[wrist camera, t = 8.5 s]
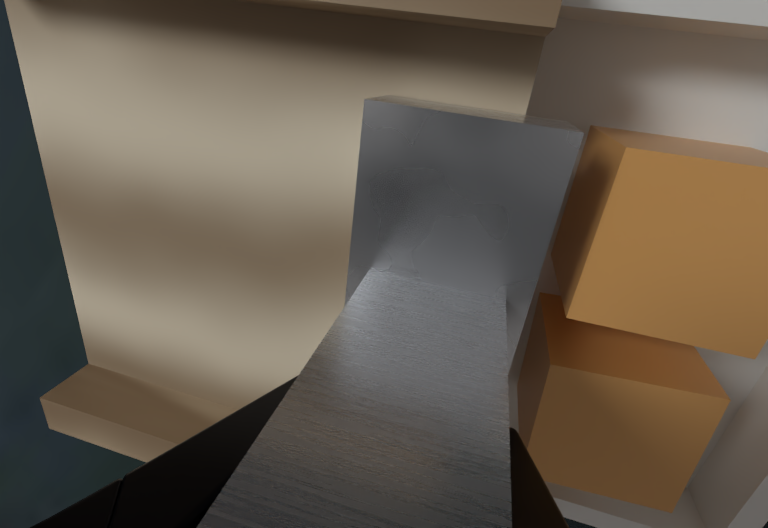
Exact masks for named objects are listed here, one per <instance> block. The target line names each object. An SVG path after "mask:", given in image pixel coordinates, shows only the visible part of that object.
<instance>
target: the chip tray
mask: <svg viewBox="0 0 768 528" xmlns="http://www.w3.org/2000/svg"><path fill="white" fill-rule="evenodd" d="M526 115H527V116H534V117H541V118H547V119H554V120H561V121H567V122H569V123H571V124H572V125H574V126H575V127H577V128H578V129H580V130H581V131H583V132H584V136H583V139H582V142H581V145H580V149H579V152H578V155H577V158H576V161H575V164H574V167H573V171H572V174H571V177H570V180H569V183H568V186H567V190H566V193H565V196H564V199H563V202H562V205H561V209H560V212H559V215H558V218H557V221H556V224H555V228H554V231H553V234H552V237H551V240H550V243H549V247H548V250H547V253H546V256H545V259H544V262H543V266H542V269H541V272H540V275H539V278H538V281H537V285H536V288H535V291H534V294H533V297H532V300H531V304H530V307H529V310H528V313H527V316H526V319H525V322H524V326H523V329H522V332H521V335H520V338H519V341H518V345H517V348H516V351H515V354H514V357H513V360H512V364H511V367H510V370H509V373H508V396H509V427H511V428H514V429H515V430H516V431H517V432H518V433H519V427H518V397H517V384H518V380H519V376H520V372H521V368H522V363H523V359H524V355H525V351H526V347H527V343H528V339H529V334H530V330H531V326H532V322H533V318H534V314H535V310H536V305H537V301H538V297H539V293H540V292H541V293H547V294H554V295H560V296H561V294H560V290H559V286H558V282H557V278H556V274H555V270H554V266H553V261H552V257H551V252H552V249H553V246H554V242H555V239H556V236H557V233H558V229H559V226H560V223H561V220H562V216H563V213H564V210H565V207H566V204H567V200H568V197H569V194H570V191H571V187H572V184H573V181H574V178H575V174H576V171H577V168H578V165H579V161H580V158H581V155H582V152H583V148H584V145H585V142H586V139H587V136H588V132H589V129H590V126H591V125H593V126H600V127H607V128H615V129H622V130H629V131H636V132H643V133H651V134H658V135H665V136H672V137H679V138H686V139H694V140H701V141H708V142H715V143H722V144H730V145H737V146H744V147H751V148H754V149H758V150H761V151H764V152H767V153H768V0H562V4H561V7H560V11H559V15H558V19H557V23H556V27H555V29H553V30H552V31H551V32H550V33H549V34H548V35H547V36H546V37H545V40H544V44H543V48H542V52H541V56H540V60H539V64H538V68H537V72H536V76H535V80H534V84H533V88H532V92H531V96H530V100H529V103H528V107H527V111H526ZM694 347H695V348H696V350H697V351H698V353H699V354H700V356H701V357H702V359H703V360H704V362H705V363H706V365H707V366H708V367H709V369H710V370H711V372H712V373H713V375H714V376H715V378H716V379H717V381H718V382H719V383H720V385H721V386H722V388H723V389H724V391H725V392H726V394H727V395H728V397H729V398H730V400H731V401H730V403H729V405H728V407H727V409H726V410H725V412H724V414H723V416H722V418H721V420H720V422H719V424H718V426H717V428H716V430H715V431H714V433H713V435H712V437H711V439H710V441H709V443H708V445H707V447H706V449H705V451H704V453H703V454H702V456H701V458H700V460H699V462H698V464H697V466H696V468H695V470H694V472H693V474H692V475H691V477H690V479H689V481H688V483H687V485H686V487H685V489H684V491H683V493H682V495H681V497H680V498H679V500H678V502H677V504H676V506H675V508H674V510H673V512H672V513H669V512H665V511H661V510H658V509H654V508H650V507H646V506H642V505H638V504H634V503H630V502H626V501H622V500H618V499H614V498H610V497H606V496H602V495H598V494H594V493H590V492H586V491H582V490H578V489H574V488H570V487H566V486H562V485H558V484H555V483H551V482H547V481H544V482H545V484H546V485H547V487H548V489H549V491H550V493H551V495H552V497H553V498H554V500H555V502H556V504H557V506H558V508H559V510H560V511H561V513H562V515H563V517H565V518H568V519H571V520H574V521H578V522H581V523H584V524H587V525H590V526H594V527H597V528H762V527H763V526H764V525H765V524H766V523H767V521H768V339H767V341H766V343H765V344H764V346H763V347H762V349H761V351H760V352H759V354H758V356H757V357H756V359H750V358H746V357H741V356H737V355H732V354H728V353H723V352H719V351H714V350H710V349H705V348H701V347H696V346H694Z"/></svg>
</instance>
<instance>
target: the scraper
mask: <svg viewBox="0 0 768 528" xmlns="http://www.w3.org/2000/svg"><path fill="white" fill-rule="evenodd" d="M583 136H584V132H583V131H581V130H580V129H578V128H577V127H575V126H574V125H572V124H571V123H569V122H567V121H561V120H554V119H547V118H541V117H534V116H527V115H521V114H514V113H507V112H501V111H494V110H487V109H481V108H474V107H467V106H461V105H454V104H447V103H441V102H434V101H427V100H421V99H414V98H407V97H401V96H394V95H384V96H379V97H373V98H367V99H364V107H363V118H362V128H361V138H360V149H359V159H358V170H357V180H356V191H355V201H354V212H353V222H352V233H351V243H350V254H349V264H348V275H347V285H346V296H345V306H344V308H343V310H342V311H341V313H340V314H339V316H338V317H337V319H336V320H335V322H334V323H333V325H332V326H331V328H330V329H329V331H328V332H327V334H326V335H325V337H324V338H323V340H322V341H321V343H320V344H319V346H318V347H317V349H316V350H315V352H314V353H313V355H312V356H311V358H310V359H309V361H308V362H307V364H306V365H305V366H304V368H303V369H302V371H301V372H300V374H299V375H298V377H297V378H296V380H295V381H294V383H293V384H292V386H291V387H290V389H289V390H288V392H287V393H286V395H285V396H284V398H283V399H282V401H281V402H280V404H279V405H278V407H277V408H276V410H275V411H274V413H273V414H272V416H271V417H270V419H269V420H268V422H267V423H266V425H265V426H264V428H263V429H262V431H261V432H260V434H259V435H258V437H257V438H256V440H255V441H254V443H253V444H252V446H251V447H250V449H249V450H248V452H247V453H246V455H245V456H244V458H243V459H242V461H241V462H240V463H239V465H238V466H237V468H236V469H235V471H234V472H233V474H232V475H231V477H230V478H229V480H228V481H227V483H226V484H225V486H224V487H223V489H222V490H221V492H220V493H219V495H218V496H217V498H216V499H215V501H214V502H213V504H212V505H211V507H210V508H209V510H208V511H207V513H206V514H205V516H204V517H203V519H202V520H201V522H200V523H199V525H198V526H197V528H512V508H511V471H510V433H509V396H508V373H509V370H510V367H511V364H512V360H513V357H514V354H515V351H516V348H517V345H518V341H519V338H520V335H521V332H522V329H523V326H524V322H525V319H526V316H527V313H528V310H529V307H530V304H531V300H532V297H533V294H534V291H535V288H536V285H537V281H538V278H539V275H540V272H541V269H542V266H543V262H544V259H545V256H546V253H547V250H548V247H549V243H550V240H551V237H552V234H553V231H554V228H555V224H556V221H557V218H558V215H559V212H560V209H561V205H562V202H563V199H564V196H565V193H566V190H567V186H568V183H569V180H570V177H571V174H572V171H573V167H574V164H575V161H576V158H577V155H578V152H579V149H580V145H581V142H582V139H583Z"/></svg>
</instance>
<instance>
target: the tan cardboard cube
mask: <svg viewBox="0 0 768 528" xmlns="http://www.w3.org/2000/svg"><path fill="white" fill-rule="evenodd" d="M551 257H552V261H553V266H554V270H555V274H556V278H557V282H558V286H559V290H560V294H561V298H562V303H563V307H564V311H565V315H566V318H569V319H574V320H578V321H583V322H587V323H592V324H596V325H601V326H606V327H610V328H615V329H619V330H624V331H628V332H633V333H637V334H642V335H646V336H651V337H655V338H660V339H664V340H669V341H673V342H678V343H682V344H687V345H691V346H696V347H701V348H705V349H710V350H714V351H719V352H723V353H728V354H732V355H737V356H741V357H746V358H750V359H756V357H757V356H758V354H759V352H760V351H761V349H762V347H763V346H764V344H765V343H766V341H767V339H768V153H767V152H764V151H761V150H758V149H754V148H751V147H744V146H737V145H730V144H722V143H715V142H708V141H701V140H694V139H686V138H679V137H672V136H665V135H658V134H651V133H643V132H636V131H629V130H622V129H615V128H607V127H600V126H593V125H591V126H590V129H589V132H588V136H587V139H586V142H585V145H584V148H583V152H582V155H581V158H580V161H579V165H578V168H577V171H576V174H575V178H574V181H573V184H572V187H571V191H570V194H569V197H568V200H567V204H566V207H565V210H564V213H563V216H562V220H561V223H560V226H559V229H558V233H557V236H556V239H555V242H554V246H553V249H552V252H551Z"/></svg>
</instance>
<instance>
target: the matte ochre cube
mask: <svg viewBox="0 0 768 528" xmlns="http://www.w3.org/2000/svg"><path fill="white" fill-rule="evenodd" d="M517 397H518V427H519V435H520V437H521V439H522V441H523V443H524V445H525V446H526V448H527V450H528V452H529V454H530V456H531V458H532V459H533V461H534V463H535V465H536V467H537V469H538V471H539V472H540V474H541V476H542V478H543V480H544V481H547V482H551V483H555V484H558V485H562V486H566V487H570V488H574V489H578V490H582V491H586V492H590V493H594V494H598V495H602V496H606V497H610V498H614V499H618V500H622V501H626V502H630V503H634V504H638V505H642V506H646V507H650V508H654V509H658V510H661V511H665V512H669V513H672V512H673V510H674V508H675V506H676V504H677V502H678V500H679V498H680V497H681V495H682V493H683V491H684V489H685V487H686V485H687V483H688V481H689V479H690V477H691V475H692V474H693V472H694V470H695V468H696V466H697V464H698V462H699V460H700V458H701V456H702V454H703V453H704V451H705V449H706V447H707V445H708V443H709V441H710V439H711V437H712V435H713V433H714V431H715V430H716V428H717V426H718V424H719V422H720V420H721V418H722V416H723V414H724V412H725V410H726V409H727V407H728V405H729V403H730V401H731V400H730V398H729V397H728V395H727V394H726V392H725V391H724V389H723V388H722V386H721V385H720V383H719V382H718V381H717V379H716V378H715V376H714V375H713V373H712V372H711V370H710V369H709V367H708V366H707V365H706V363H705V362H704V360H703V359H702V357H701V356H700V354H699V353H698V351H697V350H696V348H695V347H694V346H691V345H687V344H682V343H678V342H673V341H669V340H664V339H660V338H655V337H651V336H646V335H642V334H637V333H633V332H628V331H624V330H619V329H615V328H610V327H606V326H601V325H596V324H592V323H587V322H583V321H578V320H574V319H569V318H566V315H565V311H564V307H563V303H562V298H561V296H560V295H554V294H547V293H541V292H540V293H539V297H538V301H537V305H536V310H535V314H534V318H533V322H532V326H531V330H530V334H529V339H528V343H527V347H526V351H525V355H524V359H523V363H522V368H521V372H520V376H519V380H518V384H517Z"/></svg>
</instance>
